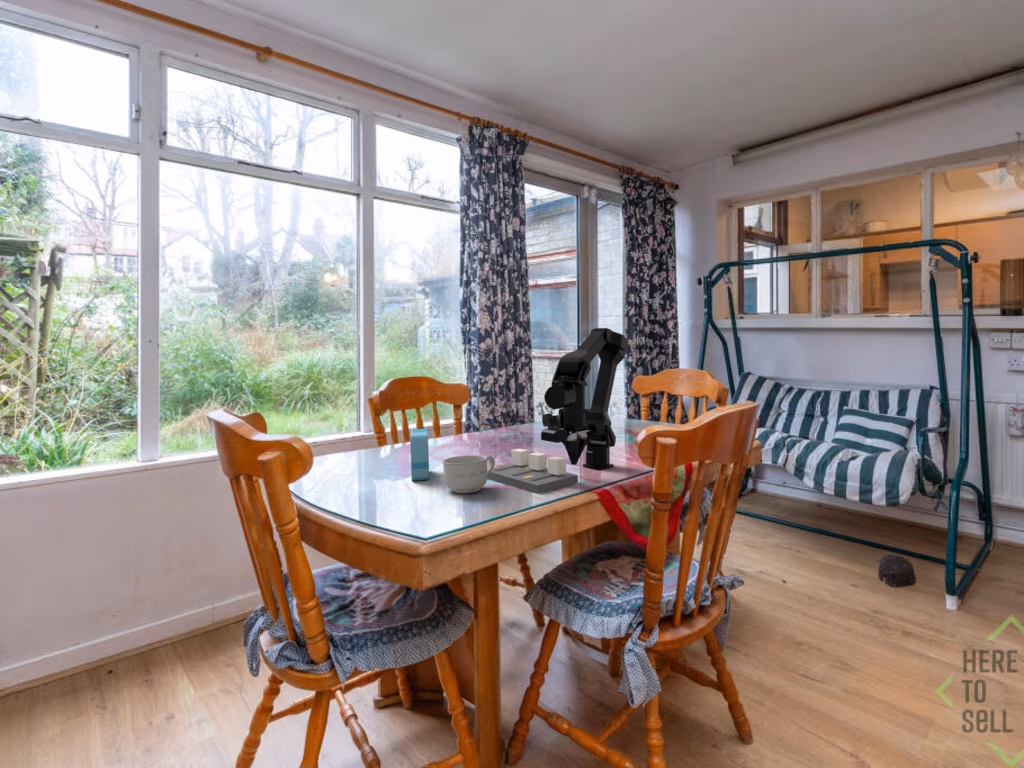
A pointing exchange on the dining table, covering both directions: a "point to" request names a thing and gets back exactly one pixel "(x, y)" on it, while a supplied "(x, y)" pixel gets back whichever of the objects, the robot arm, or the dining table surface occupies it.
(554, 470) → the tab
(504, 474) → the switch panel
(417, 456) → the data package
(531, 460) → the tab middle
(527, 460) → the tab
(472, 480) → the teacup
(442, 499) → the dining table surface
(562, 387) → the robot arm
